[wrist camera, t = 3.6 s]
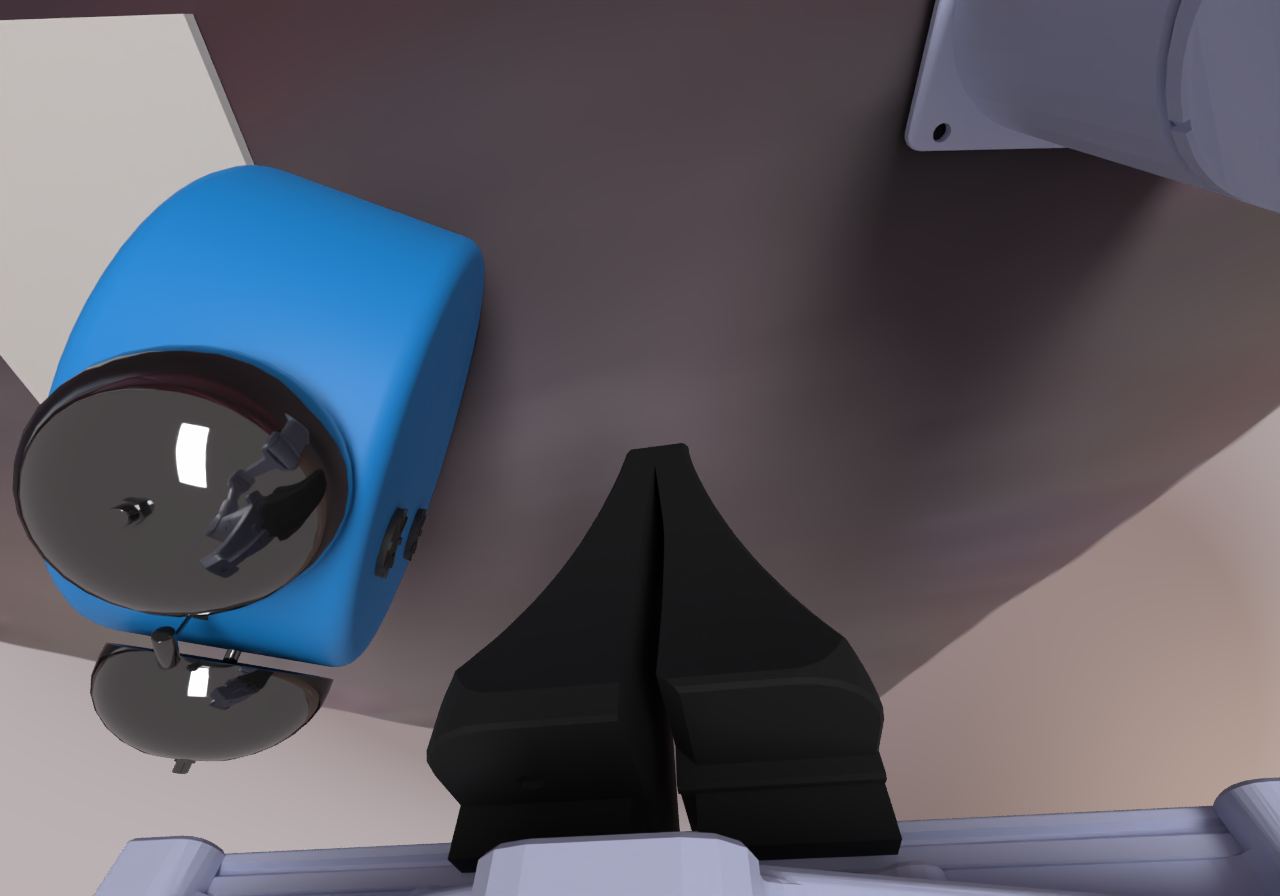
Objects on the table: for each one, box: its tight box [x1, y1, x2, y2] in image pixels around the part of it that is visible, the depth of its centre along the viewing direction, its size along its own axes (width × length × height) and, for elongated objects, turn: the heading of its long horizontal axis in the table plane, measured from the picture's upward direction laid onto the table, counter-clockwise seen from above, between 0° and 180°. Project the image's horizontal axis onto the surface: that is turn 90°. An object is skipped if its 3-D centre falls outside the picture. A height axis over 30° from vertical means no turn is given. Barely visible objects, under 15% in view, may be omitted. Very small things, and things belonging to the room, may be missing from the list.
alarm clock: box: [13, 165, 485, 774], centre depth 16 cm, size 13×6×15 cm, turn 159°
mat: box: [0, 14, 254, 404], centre depth 23 cm, size 14×20×1 cm
